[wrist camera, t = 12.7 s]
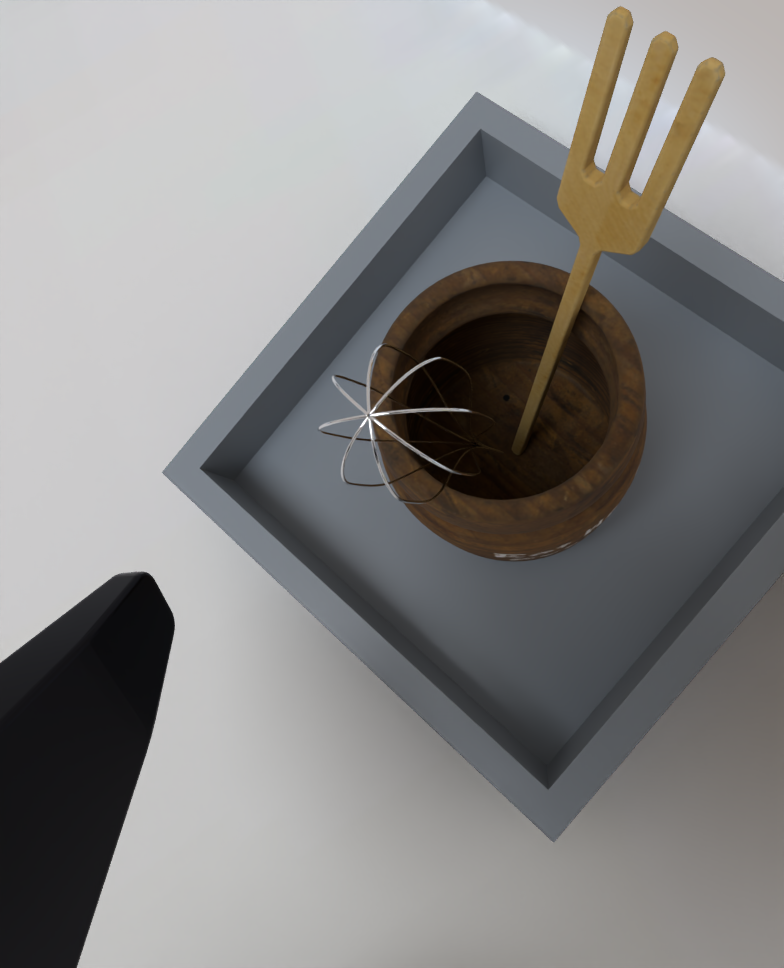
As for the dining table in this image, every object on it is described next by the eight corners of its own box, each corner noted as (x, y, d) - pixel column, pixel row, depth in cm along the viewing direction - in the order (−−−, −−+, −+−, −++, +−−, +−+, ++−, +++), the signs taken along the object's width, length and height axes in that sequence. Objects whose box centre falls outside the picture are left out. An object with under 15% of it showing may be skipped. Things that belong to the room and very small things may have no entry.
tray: (879, 414, 18) (944, 382, 15) (550, 802, 18) (553, 842, 16) (484, 158, 22) (476, 91, 19) (211, 488, 22) (161, 472, 19)
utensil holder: (368, 473, 20) (136, 316, 8) (507, 309, 20) (468, -82, 8) (526, 610, 19) (510, 646, 7) (678, 432, 18) (920, 167, 7)
